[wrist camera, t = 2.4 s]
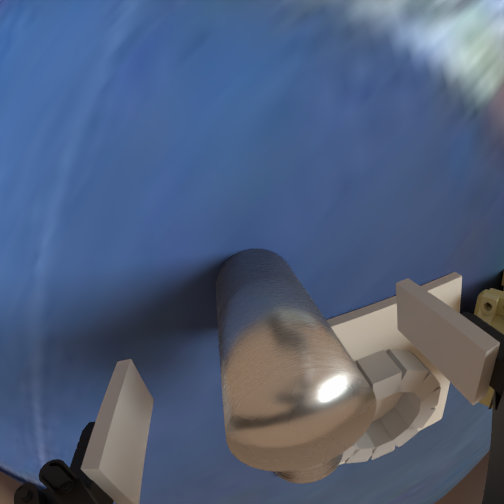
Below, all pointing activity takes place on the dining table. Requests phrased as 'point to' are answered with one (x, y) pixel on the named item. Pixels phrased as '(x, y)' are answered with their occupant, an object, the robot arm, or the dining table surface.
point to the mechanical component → (491, 318)
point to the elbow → (284, 373)
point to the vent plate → (388, 335)
